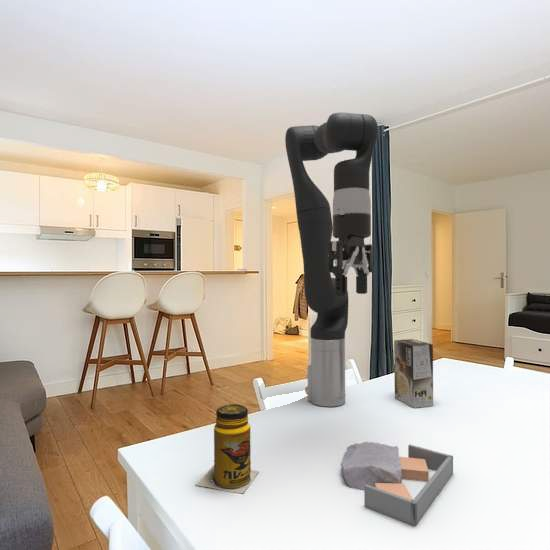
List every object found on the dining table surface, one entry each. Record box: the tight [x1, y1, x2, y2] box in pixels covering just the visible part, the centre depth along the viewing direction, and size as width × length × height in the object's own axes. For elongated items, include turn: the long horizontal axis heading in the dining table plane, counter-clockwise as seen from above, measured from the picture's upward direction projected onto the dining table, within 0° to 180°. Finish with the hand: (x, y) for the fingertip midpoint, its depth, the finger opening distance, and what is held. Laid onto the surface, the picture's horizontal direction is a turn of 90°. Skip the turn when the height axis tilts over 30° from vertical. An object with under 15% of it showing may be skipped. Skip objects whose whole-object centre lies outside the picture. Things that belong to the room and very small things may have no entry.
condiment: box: [195, 403, 260, 494], centre depth 67 cm, size 7×8×12 cm
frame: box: [363, 444, 454, 527], centre depth 63 cm, size 8×18×3 cm, turn 141°
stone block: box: [340, 441, 403, 491], centre depth 68 cm, size 12×5×10 cm
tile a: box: [375, 482, 414, 500], centre depth 60 cm, size 4×4×2 cm
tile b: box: [399, 456, 430, 483], centre depth 68 cm, size 4×4×2 cm
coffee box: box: [393, 338, 434, 409], centre depth 106 cm, size 9×6×16 cm
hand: (351, 294), depth 80 cm, fingers open, 8 cm apart
